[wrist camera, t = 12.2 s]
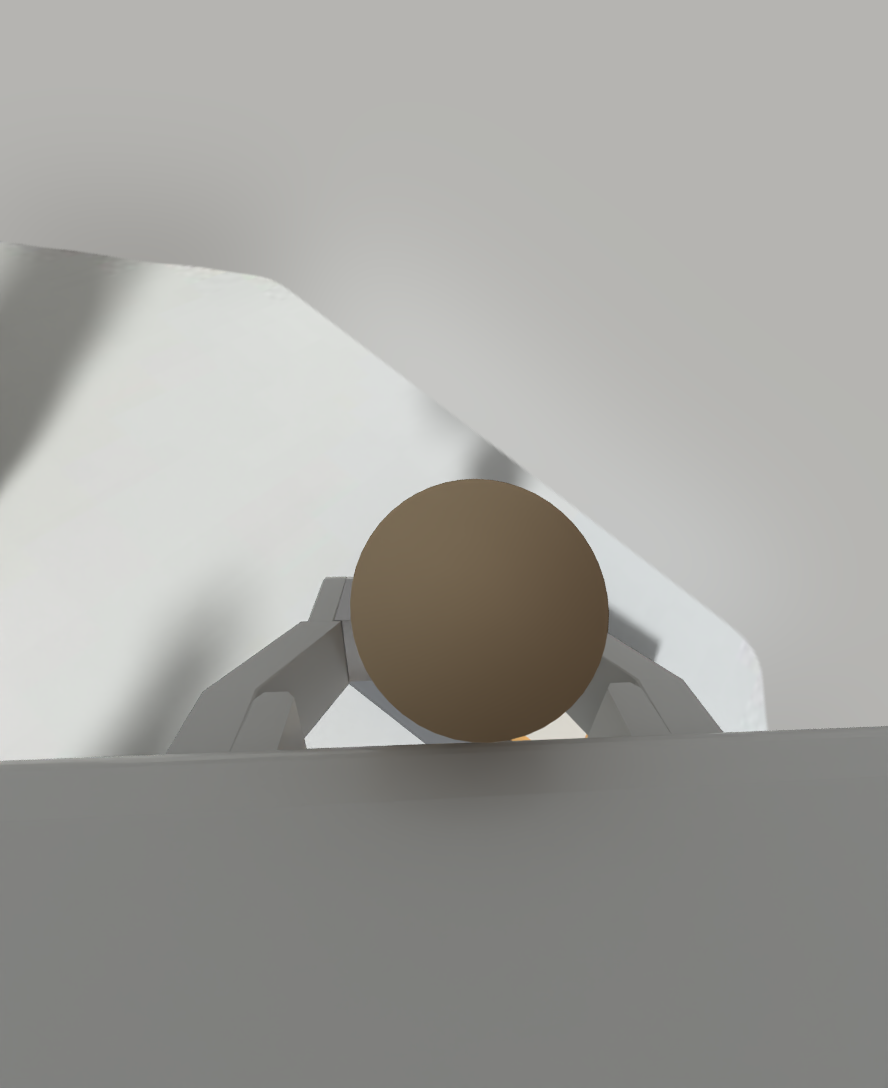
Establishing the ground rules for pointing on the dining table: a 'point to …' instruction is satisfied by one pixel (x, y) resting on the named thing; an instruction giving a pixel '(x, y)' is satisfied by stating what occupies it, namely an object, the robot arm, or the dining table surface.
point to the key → (557, 730)
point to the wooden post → (479, 610)
